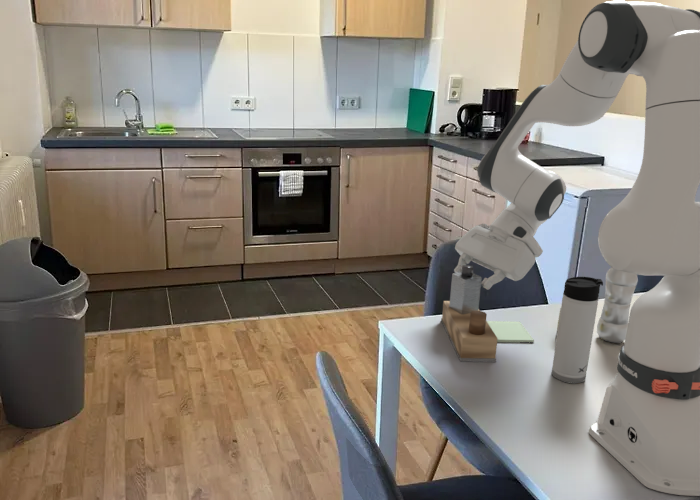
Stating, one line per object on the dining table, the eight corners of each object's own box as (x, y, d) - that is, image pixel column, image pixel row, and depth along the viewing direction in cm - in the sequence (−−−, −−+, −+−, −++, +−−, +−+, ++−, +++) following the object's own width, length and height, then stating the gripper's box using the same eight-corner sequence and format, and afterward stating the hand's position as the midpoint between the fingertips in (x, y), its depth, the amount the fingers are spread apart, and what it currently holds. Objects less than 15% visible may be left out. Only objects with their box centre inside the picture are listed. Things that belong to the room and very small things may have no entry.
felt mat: (533, 342, 137) (534, 340, 137) (488, 342, 137) (488, 339, 137) (519, 324, 147) (519, 321, 147) (477, 323, 146) (477, 320, 146)
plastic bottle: (621, 334, 143) (636, 250, 137) (630, 347, 137) (647, 259, 131) (591, 332, 144) (605, 248, 138) (599, 345, 137) (614, 257, 132)
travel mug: (589, 386, 120) (606, 286, 114) (553, 381, 121) (567, 282, 115) (584, 371, 125) (600, 275, 120) (550, 366, 127) (563, 271, 121)
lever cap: (478, 311, 140) (482, 268, 137) (461, 314, 138) (465, 270, 135) (465, 304, 144) (469, 262, 141) (449, 307, 142) (453, 264, 139)
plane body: (495, 361, 128) (500, 320, 125) (460, 361, 127) (464, 319, 125) (471, 321, 147) (475, 284, 145) (441, 320, 147) (444, 283, 144)
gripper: (473, 213, 148) (435, 258, 146) (535, 236, 131) (493, 286, 129) (486, 230, 151) (449, 273, 150) (548, 254, 134) (507, 304, 133)
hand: (470, 280), depth 139 cm, fingers open, 8 cm apart
